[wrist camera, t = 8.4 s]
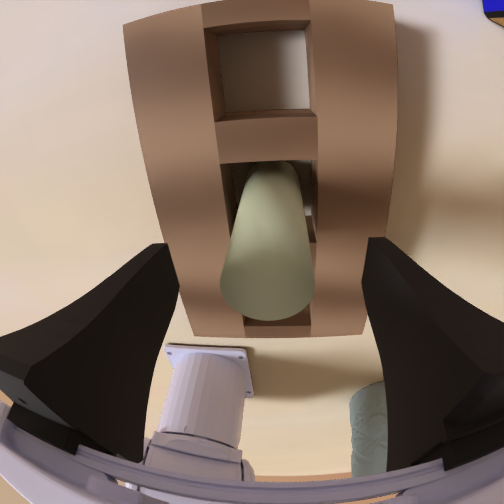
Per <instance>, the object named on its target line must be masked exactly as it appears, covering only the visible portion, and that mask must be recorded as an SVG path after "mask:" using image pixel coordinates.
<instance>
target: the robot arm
mask: <svg viewBox="0 0 504 504" xmlns="http://www.w3.org/2000/svg"><path fill="white" fill-rule="evenodd" d="M361 285H362V290H363V296H364V301H365V307H366V310H367V313H368V317H369V320H370V323H371V327H372V330H373V333H374V337H375V340H376V344H377V347H378V351H379V354H380V359H381V363H382V368H383V376H384V383H385V392H386V404H387V424H388V447H387V466H386V472H385V473H379V474H374V475H368V476H361V477H354V478H346V479H338V480H326V481H311V482H255V476H254V470H253V468H252V466H251V465H250V464H249V462H248V461H247V460H246V459H242V450H238V444H239V442H240V436H241V427H242V419H243V410H244V401H245V398H253V397H254V391H253V385H252V380H251V374H250V369H249V363H248V358H247V352H246V350H245V349H243V348H219V347H198V346H183V345H169V344H166V345H164V348H163V350H164V352H165V354H166V355H167V357H168V359H169V361H170V363H171V365H172V367H173V369H174V371H173V374H172V378H171V381H170V385H169V388H168V392H167V396H166V399H165V403H164V407H163V410H162V414H161V418H160V421H159V425H158V429H157V431H154V433H153V437H152V439H149V438H147V437H145V438H144V431H145V421H146V412H147V405H148V398H149V392H150V387H151V382H152V377H153V372H154V368H155V364H156V360H157V357H158V354H159V351H160V348H161V346H162V343H163V340H164V337H165V335H166V332H167V329H168V327H169V324H170V321H171V318H172V316H173V313H174V310H175V306H176V302H177V298H178V293H179V288H180V284H179V281H178V277H177V274H176V271H175V267H174V264H173V260H172V257H171V253H170V250H169V246H168V243H157V244H152V245H150V246H148V247H147V248H146V249H144V250H143V251H141V252H140V253H139V254H137V255H136V256H135V257H134V258H132V259H131V260H130V261H128V262H127V263H126V264H125V265H123V266H122V267H121V268H120V269H118V270H117V271H116V272H115V273H113V274H112V275H111V276H109V277H108V278H107V279H105V280H104V281H103V282H101V283H100V284H99V285H97V286H96V287H95V288H94V289H92V290H91V291H89V292H88V293H86V294H85V295H84V296H82V297H80V298H79V299H77V300H76V301H74V302H73V303H71V304H70V305H68V306H66V307H64V308H63V309H61V310H59V311H57V312H56V313H54V314H52V315H50V316H48V317H47V318H45V319H43V320H41V321H38V322H36V323H34V324H32V325H30V326H28V327H25V328H23V329H21V330H18V331H15V332H13V333H10V334H7V335H4V336H2V337H0V390H1V391H2V392H3V393H5V394H6V395H7V396H8V397H9V398H10V399H11V400H12V401H13V402H14V403H13V405H12V407H10V406H8V405H7V404H5V403H4V402H2V401H0V475H1V476H2V477H3V478H4V479H5V480H6V481H7V482H8V483H9V484H10V485H11V486H12V487H13V488H14V489H15V490H16V491H17V492H18V493H20V494H21V495H22V496H23V497H24V498H25V499H26V500H28V501H29V502H30V503H31V504H334V503H344V502H352V501H359V500H365V499H371V498H377V497H382V496H387V495H391V494H396V493H398V494H397V495H396V497H395V498H392V499H388V500H384V501H380V502H375V503H371V504H504V322H502V321H500V320H498V319H496V318H494V317H492V316H490V315H488V314H487V313H485V312H483V311H482V310H480V309H478V308H477V307H475V306H473V305H472V304H470V303H469V302H467V301H465V300H464V299H463V298H461V297H460V296H458V295H457V294H455V293H454V292H452V291H451V290H450V289H448V288H447V287H446V286H444V285H443V284H442V283H440V282H439V281H438V280H437V279H435V278H434V277H433V276H431V275H430V274H429V273H428V272H427V271H425V270H424V269H423V268H422V267H420V266H419V265H418V264H417V263H416V262H415V261H413V260H412V259H411V258H410V257H409V256H407V255H406V254H405V253H404V252H403V251H402V250H400V249H399V248H398V247H397V246H396V245H394V244H393V243H392V242H391V241H389V240H388V239H387V238H385V237H368V244H367V251H366V257H365V263H364V269H363V275H362V280H361ZM116 479H117V480H120V481H124V482H126V487H124V486H121V485H118V482H117V481H116Z"/></svg>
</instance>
